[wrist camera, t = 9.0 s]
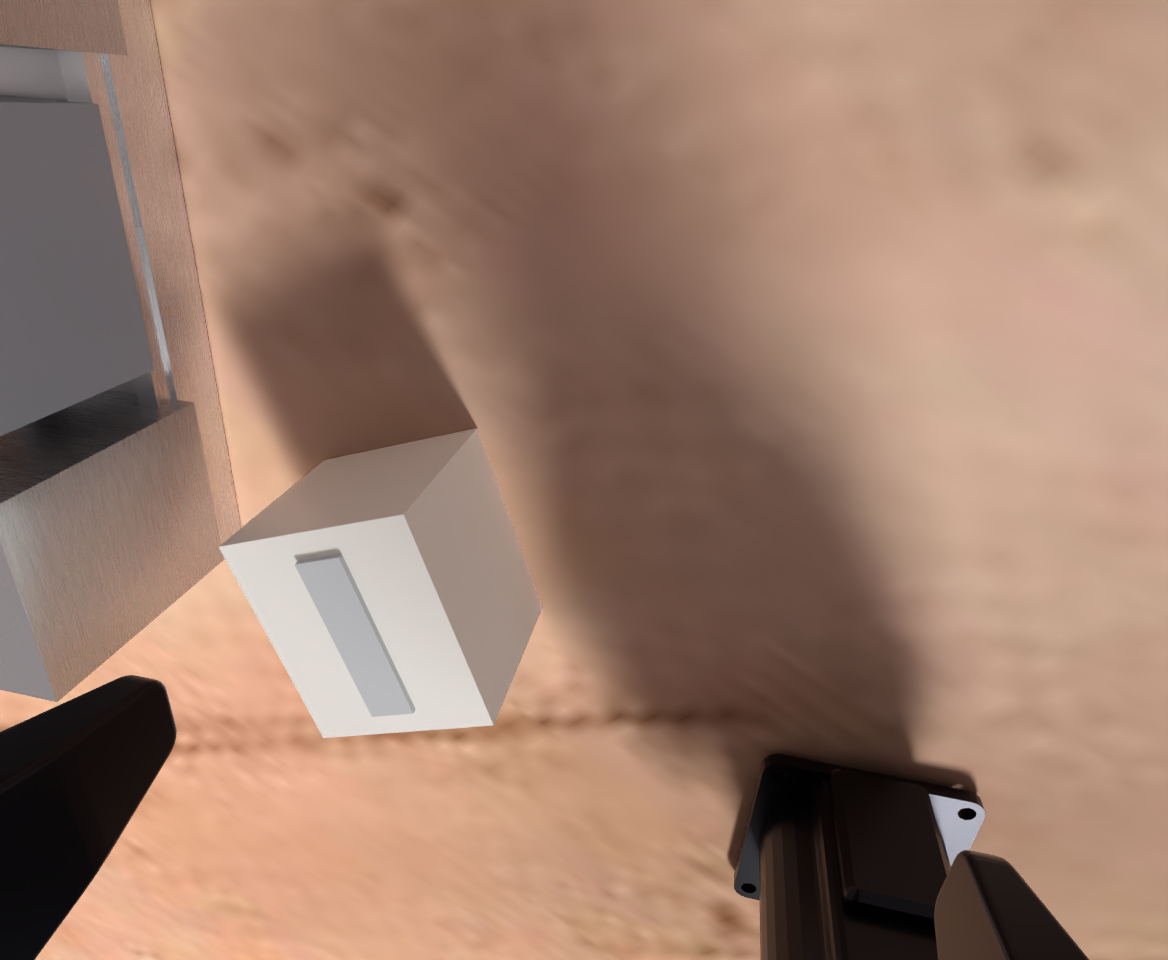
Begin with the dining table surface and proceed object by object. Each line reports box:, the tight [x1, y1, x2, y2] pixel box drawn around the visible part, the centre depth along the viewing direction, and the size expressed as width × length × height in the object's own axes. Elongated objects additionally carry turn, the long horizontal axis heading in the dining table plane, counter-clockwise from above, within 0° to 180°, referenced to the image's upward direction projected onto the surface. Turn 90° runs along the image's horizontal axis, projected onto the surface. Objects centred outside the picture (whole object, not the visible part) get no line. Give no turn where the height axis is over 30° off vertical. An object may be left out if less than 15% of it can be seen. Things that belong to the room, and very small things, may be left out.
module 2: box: [219, 428, 542, 738], centre depth 20 cm, size 6×5×5 cm
